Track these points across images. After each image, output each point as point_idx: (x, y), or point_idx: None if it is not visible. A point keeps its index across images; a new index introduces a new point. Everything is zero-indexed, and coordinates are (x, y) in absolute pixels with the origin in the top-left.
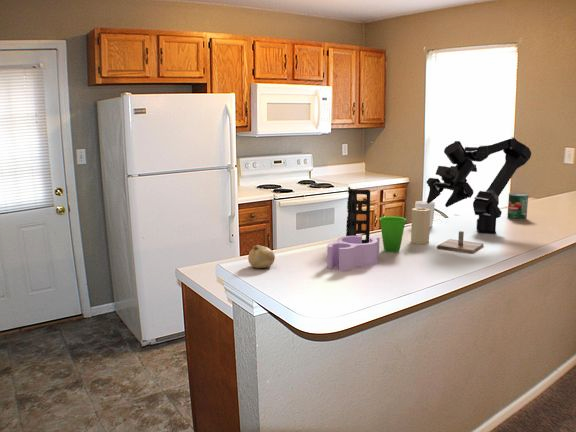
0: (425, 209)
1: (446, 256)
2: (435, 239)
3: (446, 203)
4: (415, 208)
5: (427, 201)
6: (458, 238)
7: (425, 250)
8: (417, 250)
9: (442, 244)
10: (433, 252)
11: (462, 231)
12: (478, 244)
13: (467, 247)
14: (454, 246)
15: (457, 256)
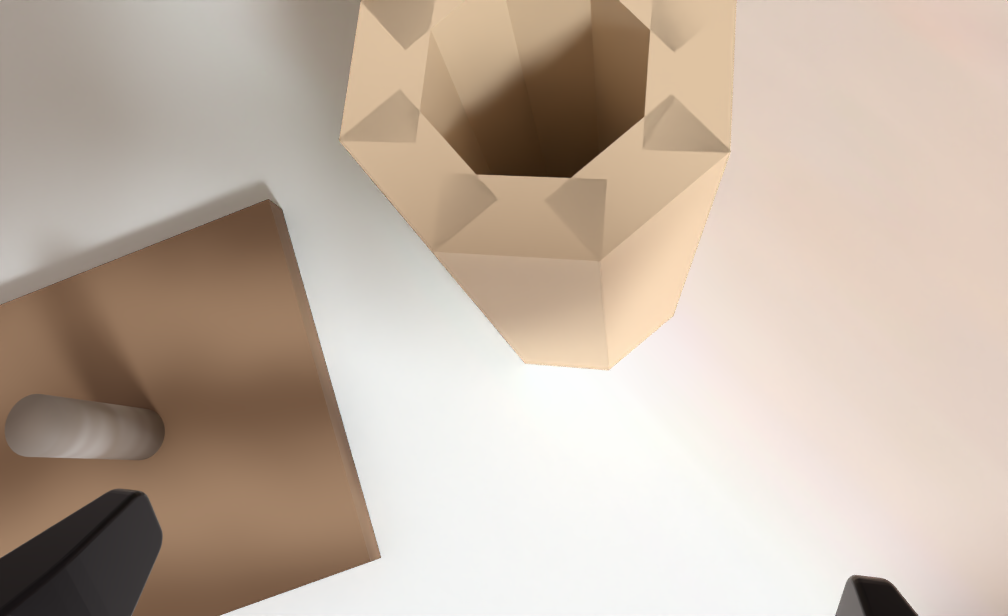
0: (510, 182)
1: (73, 70)
2: (557, 519)
3: (82, 521)
4: (676, 32)
5: (853, 578)
6: (118, 411)
7: (303, 65)
8: (348, 7)
9: (260, 273)
10: (216, 74)
11: (29, 449)
12: None
13: (30, 379)
14: (136, 308)
15: (13, 144)
